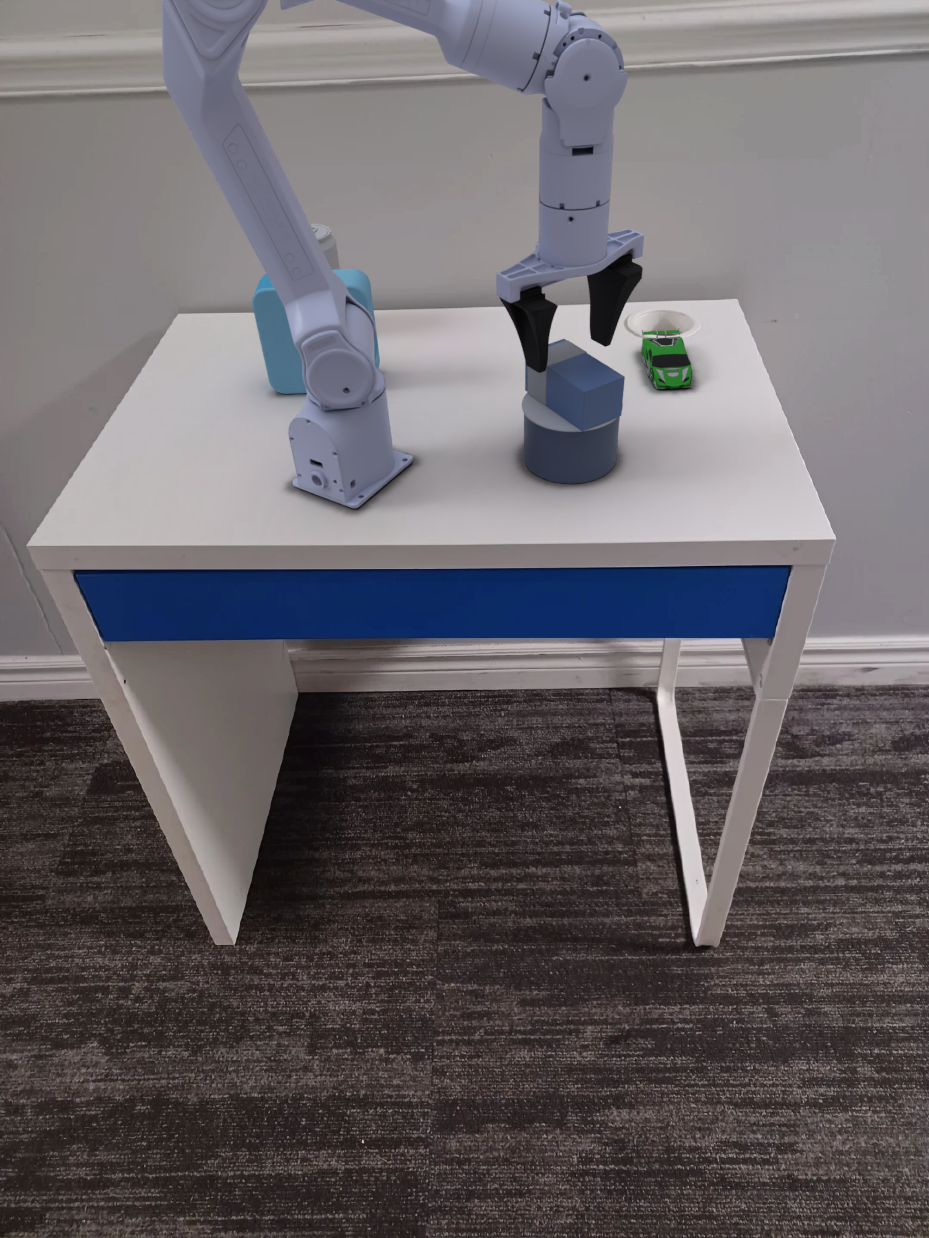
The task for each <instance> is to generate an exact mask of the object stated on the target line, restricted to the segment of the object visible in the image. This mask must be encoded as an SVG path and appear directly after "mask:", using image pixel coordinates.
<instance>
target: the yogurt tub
mask: <svg viewBox="0 0 929 1238" xmlns="http://www.w3.org/2000/svg"><path fill="white" fill-rule="evenodd" d="M623 407H624V403H622V409H623ZM521 411H522V413H523V460H524V464H525V466H526V467H527V469H528V470H529V471H530V472H531V473H532V474H533V475H535V476H537V477H539V478H541V479H543V480H545V481H549V482H553V483H558V484H565V485H566V484H569V485H573V484H574V485H575V484H585V483H589V482H592V481H596V480H598V479H600V478H602V477H604V476H606V475H608V473H610V472H611V471H612V469H613V468H614V467H615V464H616V462H617V455H618V442H619V431H620V430H619V429H620V418H621V416H620V417H618V418H615V419H613V420H610V421H608V422H605V423H603V424H600V425H598V426H595V427H593V428H590V429H588V430H585V431H581V430H579V429H578V428H577V427H575V426H574V425H572V424H571V423H570V422H568V421H567V420H566V419H564V418H563V417H561V416H560V415H559V414H557V413H556V412H554V411H553V410H552V409H550V408H549V407H547V406H545V405H543V404H542V403H541V402H539V401H538V400H537V399H535V398H534V397H532V396H531V395H530V394H528V392H527V391H526V393H525V395H524V396H523V398H522V401H521Z"/></svg>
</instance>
